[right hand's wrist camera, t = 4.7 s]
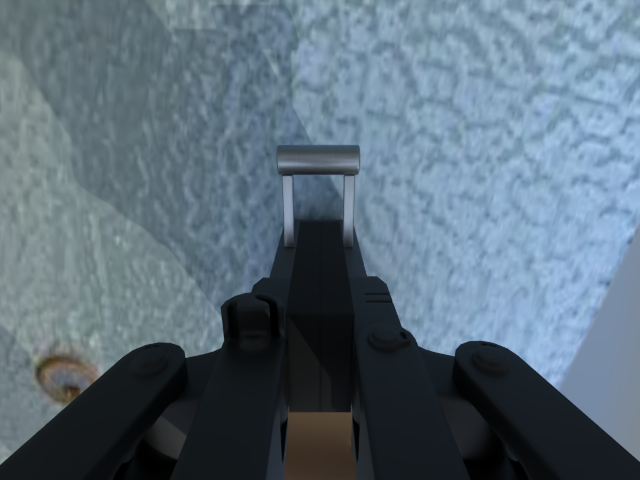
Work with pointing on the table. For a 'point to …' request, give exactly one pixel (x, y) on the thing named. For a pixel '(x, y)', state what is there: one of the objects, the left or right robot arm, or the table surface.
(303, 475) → the tall brown box
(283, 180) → the drawer
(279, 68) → the table surface
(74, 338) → the table surface
